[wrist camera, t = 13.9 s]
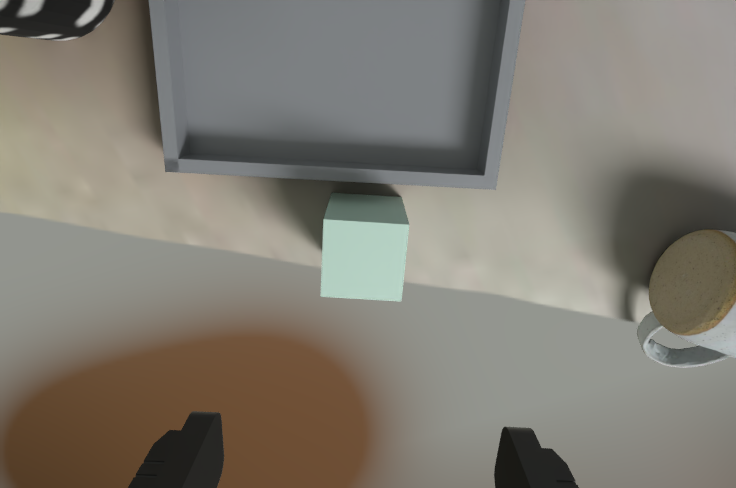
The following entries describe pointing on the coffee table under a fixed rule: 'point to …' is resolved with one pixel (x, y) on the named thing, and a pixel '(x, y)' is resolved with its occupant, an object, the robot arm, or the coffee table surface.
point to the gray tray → (337, 88)
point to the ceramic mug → (694, 300)
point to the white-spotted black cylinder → (52, 18)
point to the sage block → (364, 247)
